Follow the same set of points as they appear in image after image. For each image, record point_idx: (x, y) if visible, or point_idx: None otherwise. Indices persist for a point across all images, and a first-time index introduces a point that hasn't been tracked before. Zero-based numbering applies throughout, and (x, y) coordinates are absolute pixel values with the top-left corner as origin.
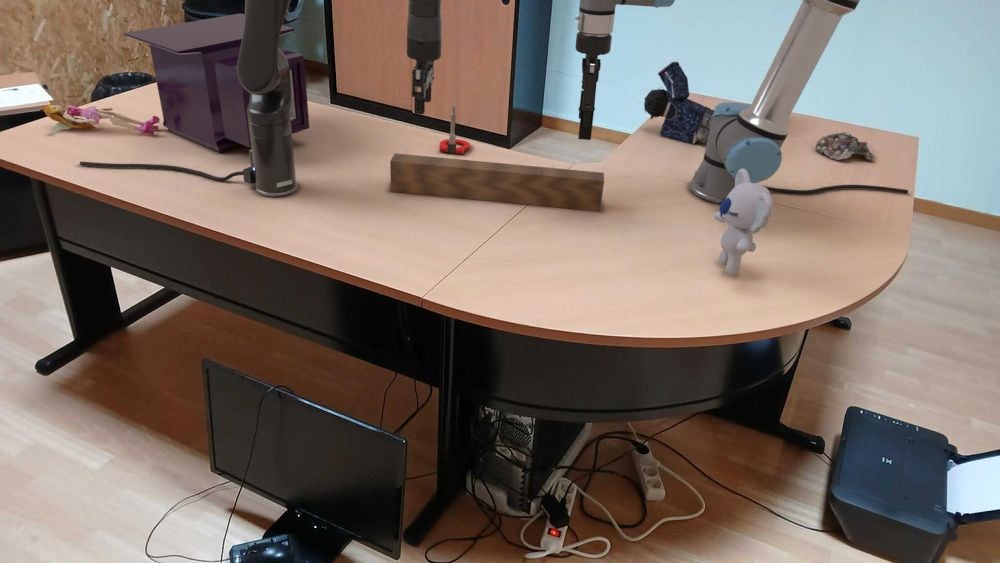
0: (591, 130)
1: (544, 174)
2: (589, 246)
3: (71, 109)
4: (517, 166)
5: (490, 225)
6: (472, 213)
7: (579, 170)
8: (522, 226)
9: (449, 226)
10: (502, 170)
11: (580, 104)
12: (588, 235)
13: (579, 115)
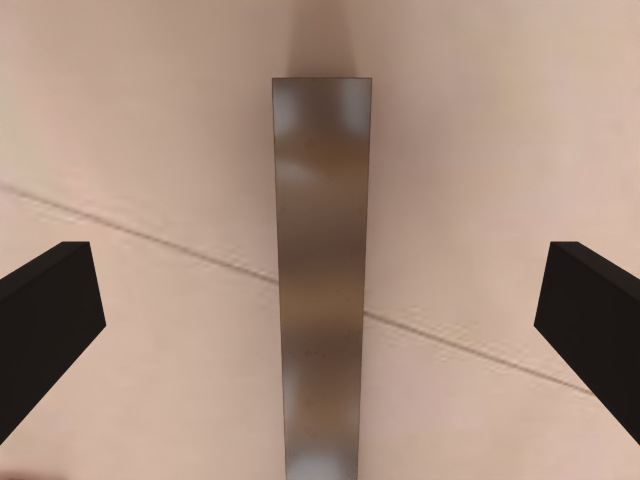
0: (634, 277)
1: (352, 324)
2: (612, 121)
3: None
4: (301, 413)
5: (493, 388)
6: (430, 431)
7: (277, 192)
8: (492, 314)
9: (506, 467)
10: (348, 452)
11: (33, 402)
12: (539, 124)
13: (92, 335)
